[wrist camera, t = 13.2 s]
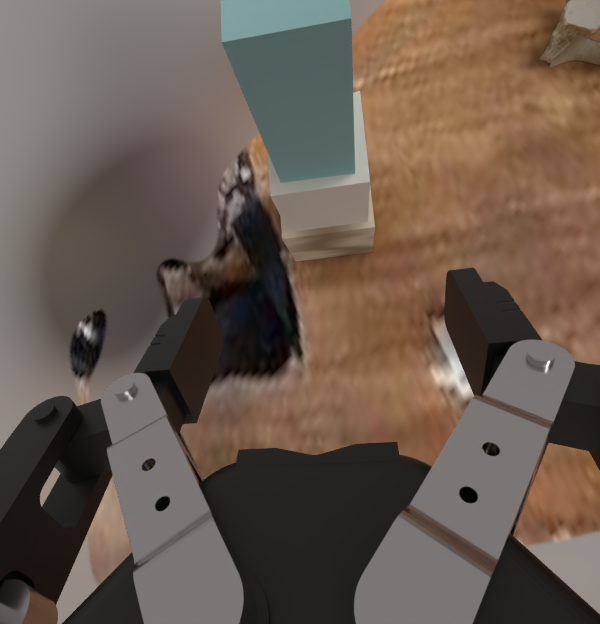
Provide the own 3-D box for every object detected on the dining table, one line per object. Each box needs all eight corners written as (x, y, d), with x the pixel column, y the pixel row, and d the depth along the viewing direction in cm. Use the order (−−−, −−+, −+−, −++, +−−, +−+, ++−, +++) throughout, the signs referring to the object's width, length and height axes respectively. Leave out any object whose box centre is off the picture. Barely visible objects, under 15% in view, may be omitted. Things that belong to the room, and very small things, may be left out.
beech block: (364, 179, 35) (365, 140, 29) (372, 252, 34) (375, 226, 28) (290, 191, 36) (276, 155, 30) (295, 261, 35) (282, 239, 29)
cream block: (360, 148, 29) (360, 91, 23) (368, 221, 28) (369, 181, 22) (283, 160, 30) (264, 108, 24) (288, 232, 29) (270, 196, 23)
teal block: (350, 105, 23) (342, -91, 13) (355, 173, 22) (351, 18, 12) (277, 116, 24) (219, -64, 14) (280, 182, 23) (221, 42, 13)
